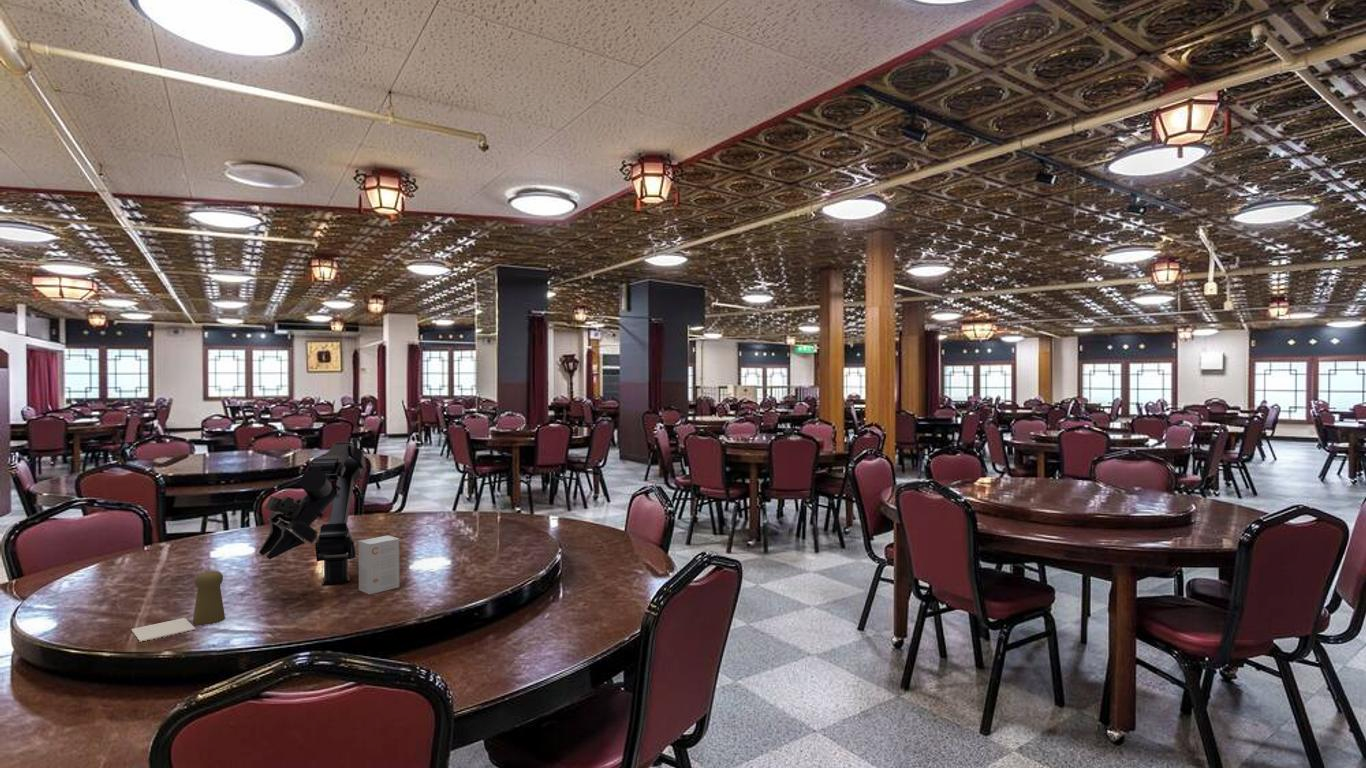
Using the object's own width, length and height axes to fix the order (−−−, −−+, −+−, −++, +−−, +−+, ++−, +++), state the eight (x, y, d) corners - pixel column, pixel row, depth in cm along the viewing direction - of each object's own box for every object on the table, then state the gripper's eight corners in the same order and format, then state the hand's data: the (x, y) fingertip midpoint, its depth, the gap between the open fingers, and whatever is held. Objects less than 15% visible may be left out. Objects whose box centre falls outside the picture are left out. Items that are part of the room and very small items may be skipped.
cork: (231, 617, 153) (231, 569, 153) (205, 626, 147) (205, 577, 147) (212, 615, 155) (212, 567, 155) (185, 623, 149) (185, 574, 149)
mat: (184, 619, 152) (184, 617, 152) (195, 630, 145) (195, 628, 145) (131, 630, 145) (131, 629, 145) (139, 642, 138) (139, 640, 138)
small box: (388, 583, 179) (388, 534, 180) (400, 587, 175) (399, 538, 175) (357, 590, 173) (357, 540, 173) (369, 595, 169) (369, 543, 169)
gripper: (276, 479, 169) (225, 530, 161) (302, 487, 157) (248, 542, 149) (310, 506, 175) (262, 556, 167) (338, 515, 163) (287, 570, 154)
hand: (264, 556), depth 159 cm, fingers open, 5 cm apart
